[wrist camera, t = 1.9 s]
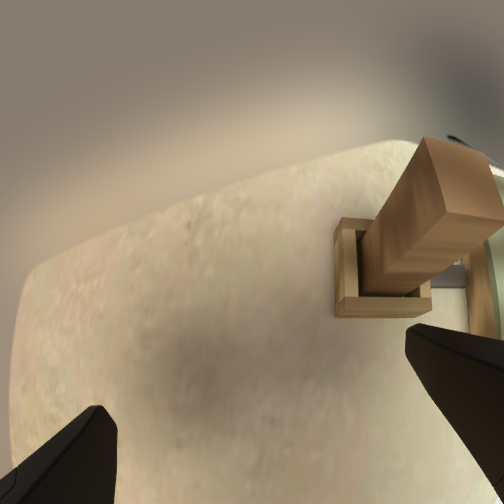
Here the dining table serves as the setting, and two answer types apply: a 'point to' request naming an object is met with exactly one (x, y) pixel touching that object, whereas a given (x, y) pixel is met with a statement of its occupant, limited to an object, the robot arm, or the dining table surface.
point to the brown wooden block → (429, 219)
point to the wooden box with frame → (419, 300)
